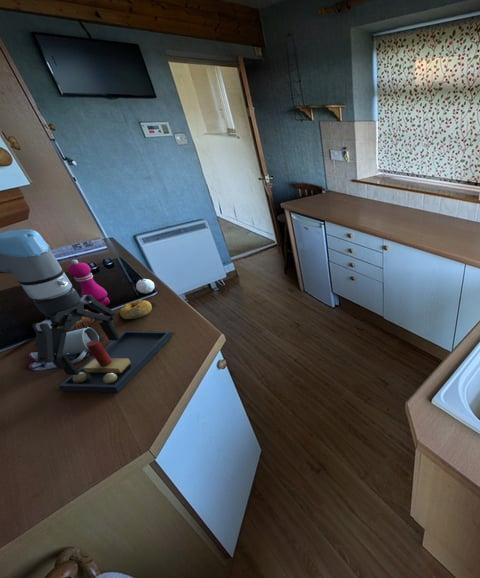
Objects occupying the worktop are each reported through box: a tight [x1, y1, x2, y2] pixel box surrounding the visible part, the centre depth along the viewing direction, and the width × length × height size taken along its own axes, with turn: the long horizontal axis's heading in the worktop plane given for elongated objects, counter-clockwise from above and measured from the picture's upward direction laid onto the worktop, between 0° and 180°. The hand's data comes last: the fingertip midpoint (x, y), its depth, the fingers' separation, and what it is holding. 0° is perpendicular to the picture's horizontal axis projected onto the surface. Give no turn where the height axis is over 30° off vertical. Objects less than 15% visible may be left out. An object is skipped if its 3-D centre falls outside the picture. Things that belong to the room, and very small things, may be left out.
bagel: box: [119, 299, 153, 320], centre depth 112 cm, size 10×11×5 cm
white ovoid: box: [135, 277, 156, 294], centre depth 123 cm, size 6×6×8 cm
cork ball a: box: [72, 372, 88, 383], centre depth 83 cm, size 3×3×3 cm
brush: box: [84, 339, 131, 375], centre depth 85 cm, size 10×4×11 cm, turn 90°
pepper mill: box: [67, 259, 111, 310], centre depth 112 cm, size 7×7×20 cm
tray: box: [59, 330, 173, 393], centre depth 91 cm, size 16×24×2 cm, turn 179°
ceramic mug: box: [62, 326, 100, 365], centre depth 92 cm, size 11×8×8 cm
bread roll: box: [58, 309, 96, 332], centre depth 105 cm, size 10×10×8 cm
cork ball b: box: [103, 373, 117, 384], centre depth 83 cm, size 3×3×3 cm
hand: (95, 355), depth 83 cm, fingers open, 13 cm apart
